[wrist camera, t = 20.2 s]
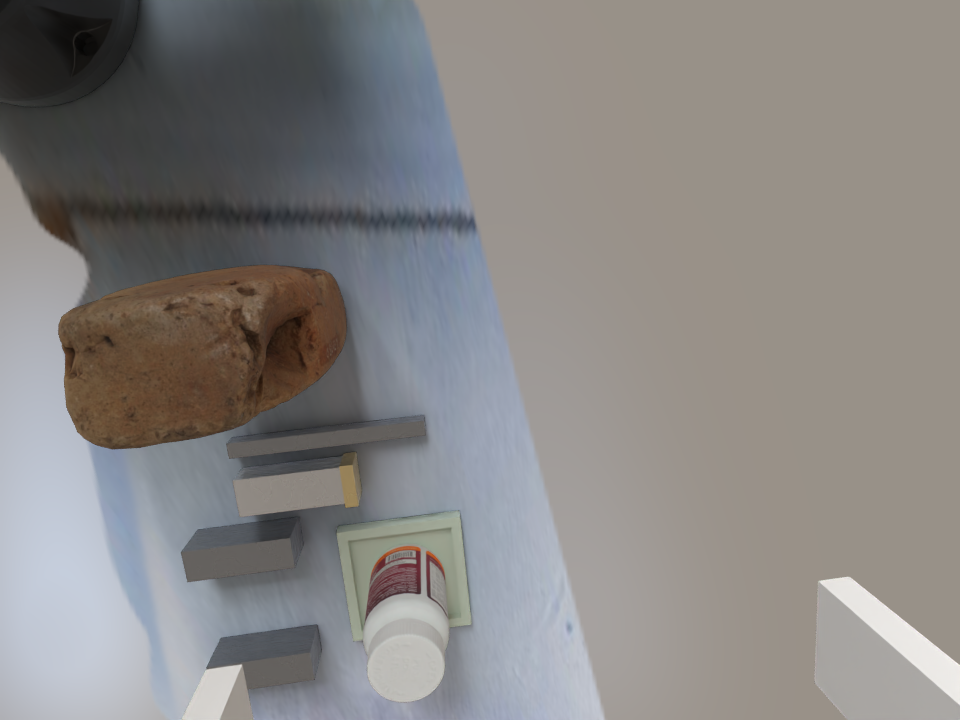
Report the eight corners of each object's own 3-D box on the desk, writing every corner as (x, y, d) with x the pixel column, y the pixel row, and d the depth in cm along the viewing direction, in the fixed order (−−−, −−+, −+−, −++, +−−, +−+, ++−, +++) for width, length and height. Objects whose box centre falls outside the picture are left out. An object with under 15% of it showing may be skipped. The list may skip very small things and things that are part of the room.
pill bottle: (358, 589, 50) (340, 690, 39) (392, 529, 49) (384, 614, 38) (423, 618, 51) (424, 723, 40) (458, 559, 50) (469, 649, 39)
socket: (197, 529, 48) (180, 552, 45) (298, 516, 49) (289, 538, 45) (226, 663, 51) (212, 694, 47) (321, 650, 51) (314, 679, 48)
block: (214, 368, 46) (61, 470, 26) (193, 269, 44) (14, 299, 25) (357, 351, 46) (311, 438, 27) (342, 253, 45) (283, 270, 25)
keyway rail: (232, 437, 47) (226, 443, 45) (423, 414, 48) (423, 420, 47) (234, 451, 47) (229, 458, 46) (425, 429, 48) (425, 435, 47)
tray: (338, 525, 49) (336, 533, 48) (459, 510, 50) (460, 516, 49) (354, 632, 51) (353, 641, 50) (470, 615, 52) (471, 624, 51)
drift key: (241, 465, 47) (230, 479, 45) (356, 451, 48) (352, 464, 45) (249, 505, 48) (238, 521, 45) (361, 490, 49) (358, 506, 46)
